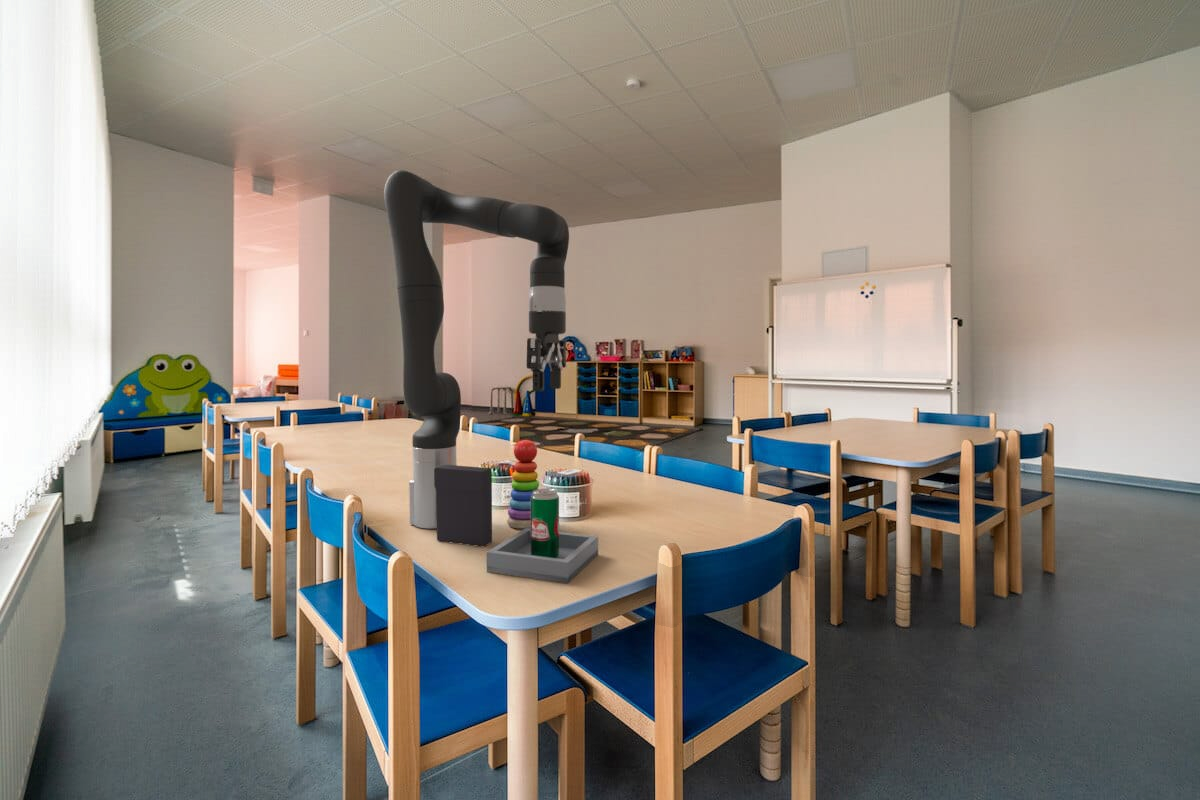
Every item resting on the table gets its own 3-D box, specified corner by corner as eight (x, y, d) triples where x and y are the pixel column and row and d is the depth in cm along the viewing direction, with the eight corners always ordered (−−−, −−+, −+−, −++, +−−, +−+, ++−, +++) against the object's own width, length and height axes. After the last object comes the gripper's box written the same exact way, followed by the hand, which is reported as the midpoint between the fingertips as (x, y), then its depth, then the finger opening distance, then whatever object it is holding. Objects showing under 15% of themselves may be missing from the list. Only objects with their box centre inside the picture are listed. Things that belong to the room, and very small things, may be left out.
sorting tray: (486, 571, 101) (486, 552, 101) (525, 545, 115) (525, 528, 115) (567, 583, 96) (567, 562, 96) (598, 554, 110) (598, 536, 110)
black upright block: (494, 541, 118) (493, 467, 116) (483, 548, 113) (482, 471, 112) (447, 535, 121) (446, 463, 120) (434, 542, 117) (433, 467, 116)
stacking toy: (550, 526, 128) (550, 441, 127) (517, 532, 124) (516, 443, 123) (533, 517, 135) (533, 436, 134) (501, 523, 130) (500, 439, 129)
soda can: (524, 558, 105) (524, 491, 104) (543, 550, 109) (543, 486, 108) (546, 563, 102) (546, 495, 101) (564, 555, 106) (564, 490, 106)
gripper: (545, 313, 128) (544, 387, 129) (514, 307, 115) (514, 391, 116) (577, 312, 125) (576, 388, 127) (549, 307, 112) (549, 392, 113)
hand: (547, 389), depth 121 cm, fingers open, 8 cm apart
